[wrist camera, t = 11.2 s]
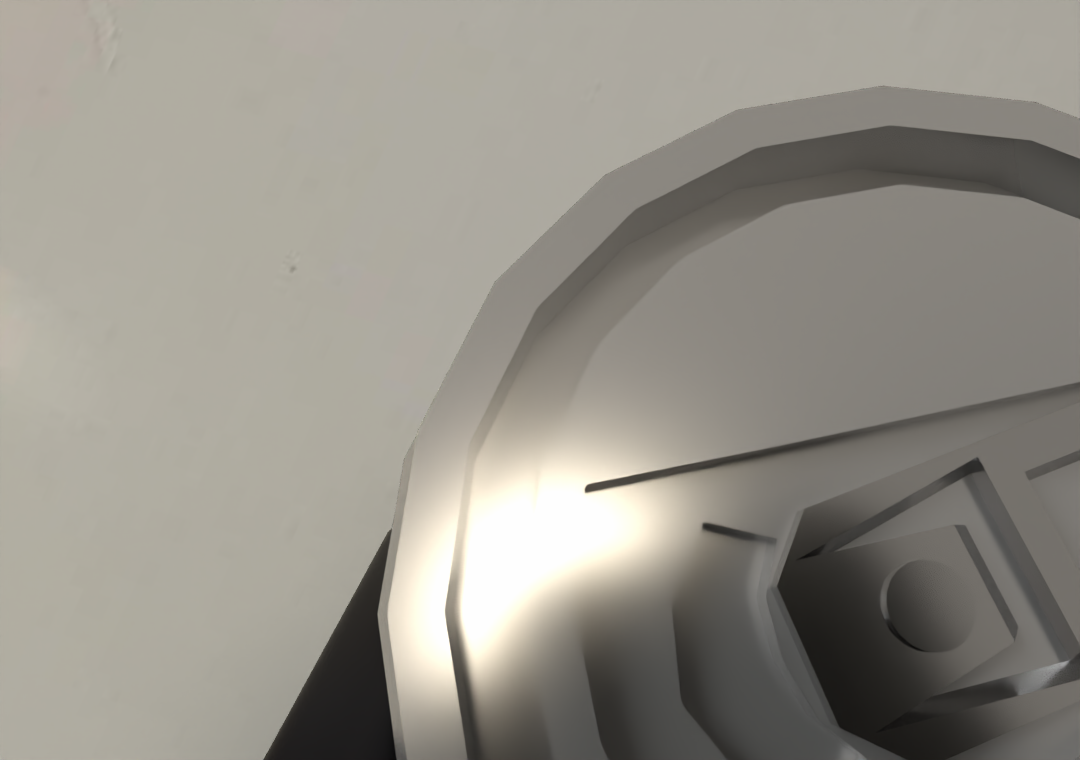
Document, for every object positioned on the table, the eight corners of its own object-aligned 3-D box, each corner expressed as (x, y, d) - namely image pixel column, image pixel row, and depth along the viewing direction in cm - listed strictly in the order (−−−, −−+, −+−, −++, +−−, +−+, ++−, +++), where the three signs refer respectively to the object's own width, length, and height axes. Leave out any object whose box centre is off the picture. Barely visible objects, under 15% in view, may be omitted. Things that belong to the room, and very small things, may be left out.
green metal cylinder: (697, 429, 16) (1163, -67, 4) (813, 692, 14) (2012, 1047, 3) (449, 520, 15) (193, 236, 4) (543, 804, 14) (629, 1876, 2)
